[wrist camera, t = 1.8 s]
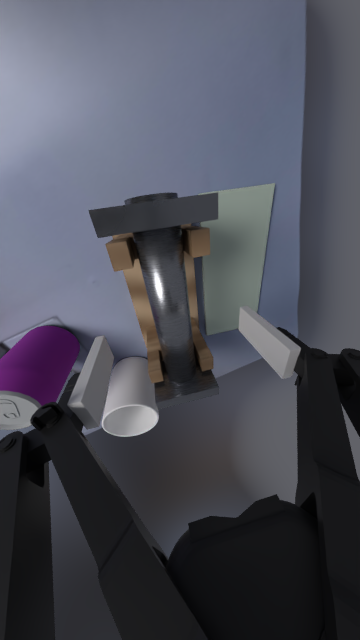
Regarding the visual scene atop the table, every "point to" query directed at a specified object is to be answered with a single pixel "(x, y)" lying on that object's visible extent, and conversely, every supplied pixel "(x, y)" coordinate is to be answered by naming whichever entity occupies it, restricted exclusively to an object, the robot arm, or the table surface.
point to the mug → (130, 399)
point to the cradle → (128, 261)
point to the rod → (166, 282)
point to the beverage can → (34, 373)
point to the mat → (235, 255)
